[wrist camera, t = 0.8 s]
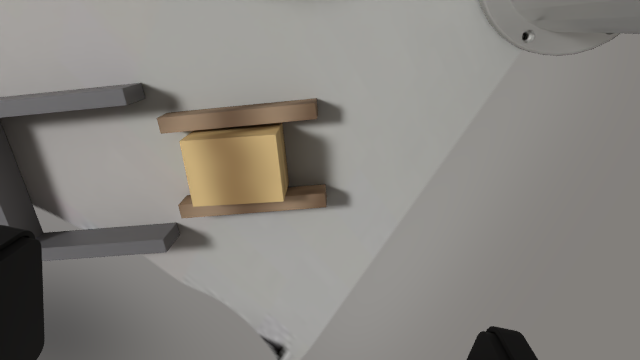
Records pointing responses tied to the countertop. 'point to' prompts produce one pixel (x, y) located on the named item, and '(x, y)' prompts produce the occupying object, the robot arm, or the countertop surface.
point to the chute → (243, 117)
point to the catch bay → (16, 207)
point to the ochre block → (236, 165)
